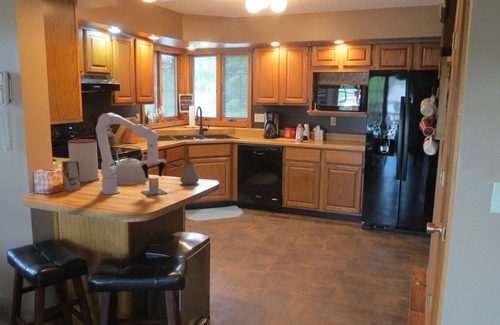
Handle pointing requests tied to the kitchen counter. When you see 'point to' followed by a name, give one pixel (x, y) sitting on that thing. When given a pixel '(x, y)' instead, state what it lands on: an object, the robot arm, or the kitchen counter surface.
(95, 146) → the container
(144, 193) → the grey flat square plate
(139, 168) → the kettle
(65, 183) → the coffee box
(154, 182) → the top block
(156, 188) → the base block
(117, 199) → the kitchen counter surface
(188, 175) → the coffee pot
